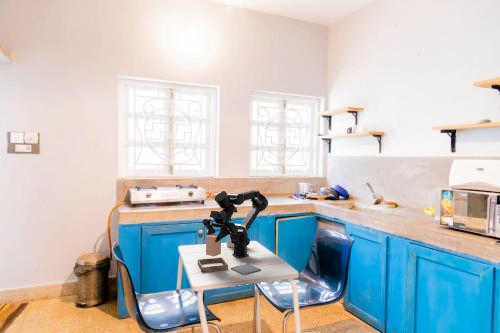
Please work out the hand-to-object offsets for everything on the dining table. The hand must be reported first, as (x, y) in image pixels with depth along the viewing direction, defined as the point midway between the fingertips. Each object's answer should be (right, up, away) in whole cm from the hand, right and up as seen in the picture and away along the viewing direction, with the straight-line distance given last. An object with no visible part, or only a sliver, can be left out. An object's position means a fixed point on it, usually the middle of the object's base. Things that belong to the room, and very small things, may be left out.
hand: (211, 241), depth 148 cm
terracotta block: (+1, -7, +1) cm, 7 cm away
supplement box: (+9, -12, +37) cm, 40 cm away
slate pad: (+16, -13, -2) cm, 21 cm away
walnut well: (0, -12, +2) cm, 13 cm away
